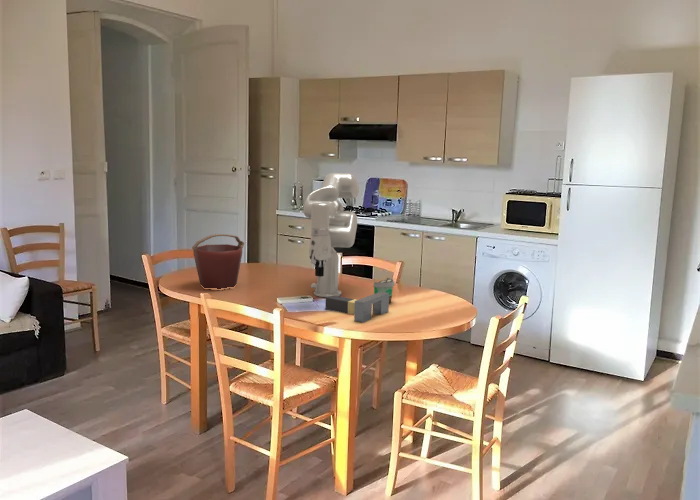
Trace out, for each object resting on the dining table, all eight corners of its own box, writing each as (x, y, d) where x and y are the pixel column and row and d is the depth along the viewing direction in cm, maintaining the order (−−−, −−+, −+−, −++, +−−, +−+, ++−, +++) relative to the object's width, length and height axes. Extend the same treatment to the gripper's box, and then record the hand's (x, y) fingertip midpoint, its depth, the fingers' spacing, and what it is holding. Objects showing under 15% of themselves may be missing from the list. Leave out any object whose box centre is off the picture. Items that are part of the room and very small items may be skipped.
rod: (325, 309, 257) (325, 297, 256) (332, 306, 261) (332, 295, 260) (353, 314, 250) (354, 302, 249) (360, 312, 254) (360, 300, 253)
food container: (385, 307, 263) (386, 284, 261) (372, 304, 266) (373, 282, 264) (398, 301, 273) (399, 279, 271) (386, 299, 276) (387, 277, 275)
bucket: (243, 280, 307) (242, 231, 302) (248, 291, 286) (248, 237, 281) (192, 282, 300) (191, 231, 296) (193, 293, 279) (192, 238, 275)
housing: (354, 320, 241) (354, 300, 239) (380, 310, 257) (380, 291, 256) (363, 322, 239) (363, 302, 237) (388, 311, 255) (389, 292, 254)
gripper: (316, 234, 248) (316, 279, 251) (337, 231, 261) (336, 274, 263) (302, 233, 252) (301, 277, 255) (323, 230, 265) (322, 272, 267)
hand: (319, 275), depth 259 cm, fingers closed
